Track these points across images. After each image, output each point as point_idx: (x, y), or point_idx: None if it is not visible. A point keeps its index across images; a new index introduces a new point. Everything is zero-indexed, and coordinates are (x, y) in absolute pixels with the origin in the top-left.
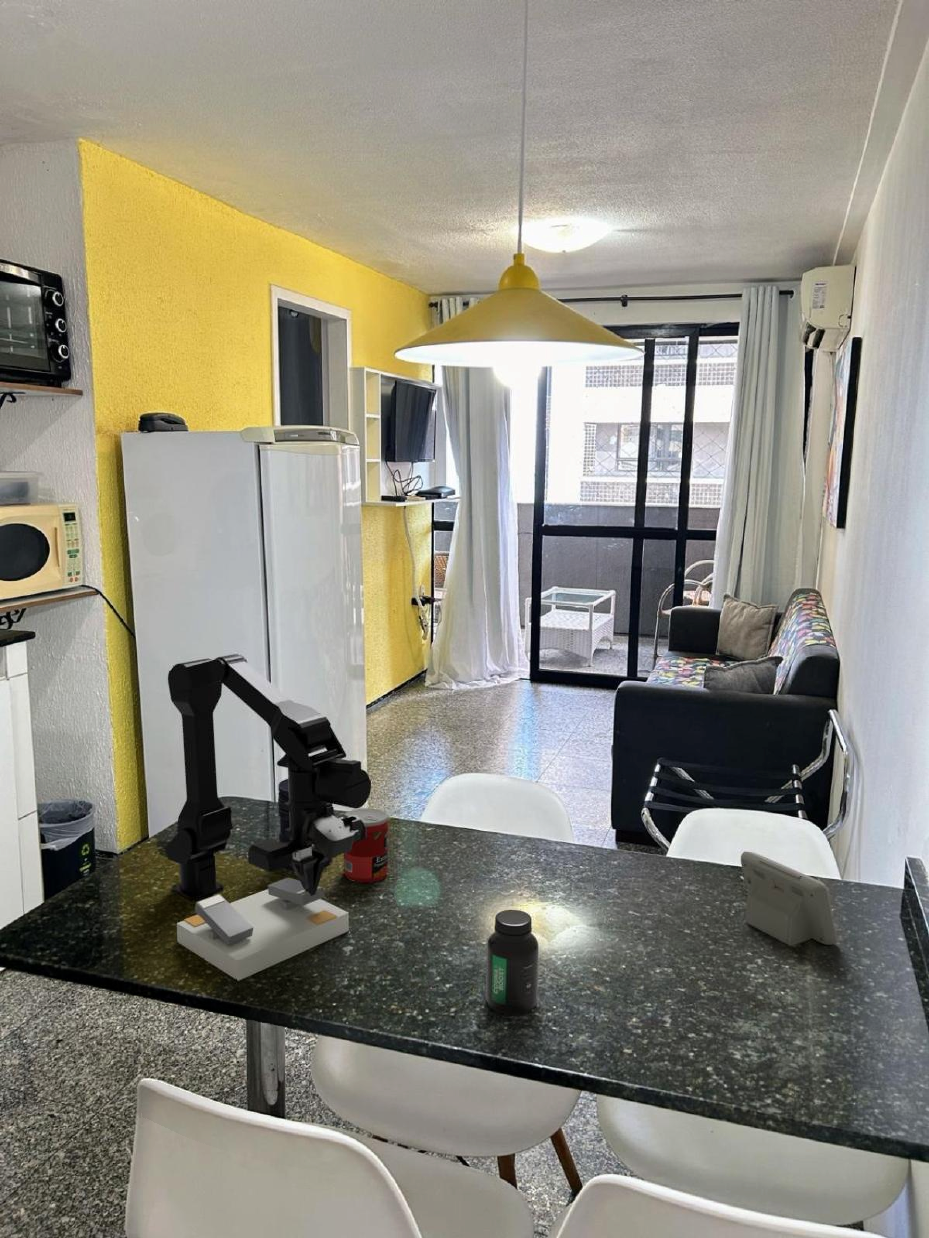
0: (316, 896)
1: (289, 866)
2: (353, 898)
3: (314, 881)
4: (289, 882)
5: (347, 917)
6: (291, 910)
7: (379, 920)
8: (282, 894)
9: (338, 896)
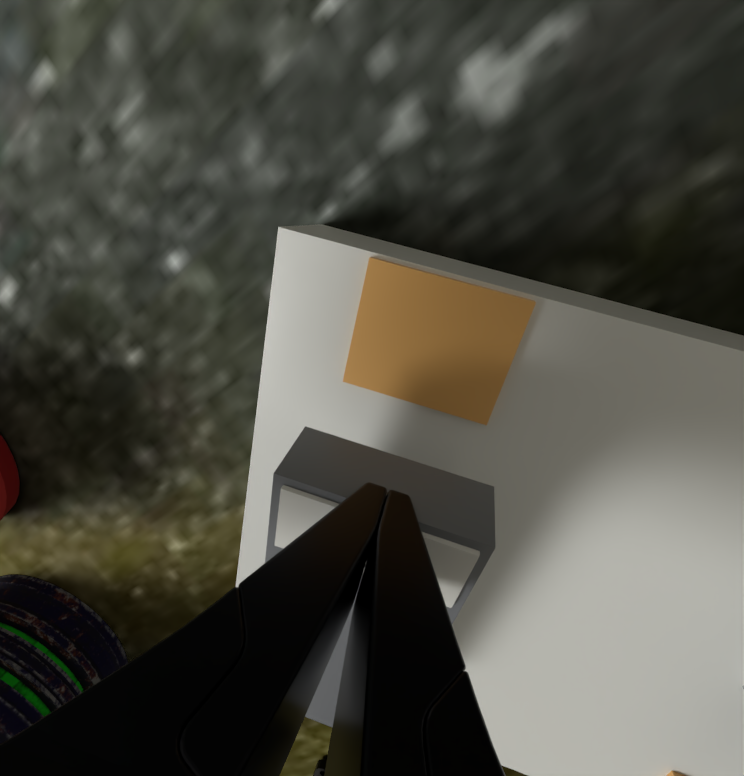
0: (364, 464)
1: (111, 668)
2: (95, 390)
3: (354, 576)
4: None
5: (299, 228)
6: None
7: (146, 146)
8: None
9: (125, 449)
